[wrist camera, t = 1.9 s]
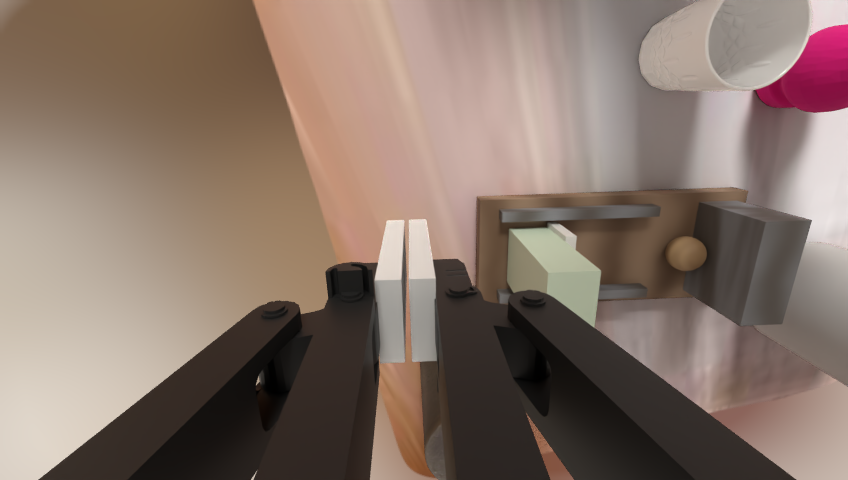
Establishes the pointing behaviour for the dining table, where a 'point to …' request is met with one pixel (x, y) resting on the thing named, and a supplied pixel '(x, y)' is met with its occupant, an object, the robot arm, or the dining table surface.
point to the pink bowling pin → (814, 75)
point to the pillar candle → (432, 420)
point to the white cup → (726, 44)
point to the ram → (553, 268)
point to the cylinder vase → (817, 311)
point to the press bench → (659, 246)
